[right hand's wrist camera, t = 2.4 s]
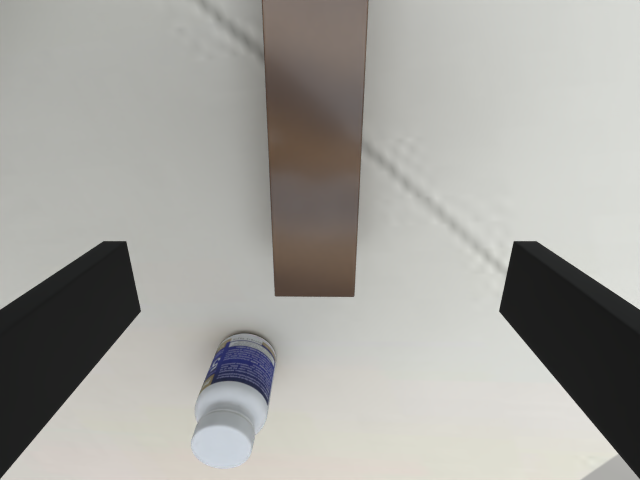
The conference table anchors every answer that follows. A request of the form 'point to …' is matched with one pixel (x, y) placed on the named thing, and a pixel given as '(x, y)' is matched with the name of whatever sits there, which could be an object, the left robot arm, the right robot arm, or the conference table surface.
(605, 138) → the conference table surface
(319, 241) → the bar
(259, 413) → the pill bottle
